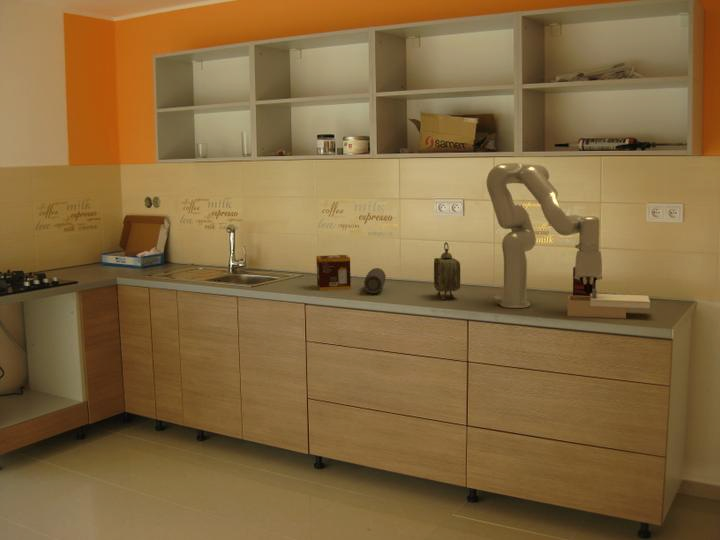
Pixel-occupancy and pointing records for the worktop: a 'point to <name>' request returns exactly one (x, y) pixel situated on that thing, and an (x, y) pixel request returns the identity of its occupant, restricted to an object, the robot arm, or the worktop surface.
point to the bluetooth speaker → (374, 280)
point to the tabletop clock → (446, 273)
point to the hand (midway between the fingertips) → (587, 293)
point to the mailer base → (592, 309)
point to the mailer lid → (619, 300)
